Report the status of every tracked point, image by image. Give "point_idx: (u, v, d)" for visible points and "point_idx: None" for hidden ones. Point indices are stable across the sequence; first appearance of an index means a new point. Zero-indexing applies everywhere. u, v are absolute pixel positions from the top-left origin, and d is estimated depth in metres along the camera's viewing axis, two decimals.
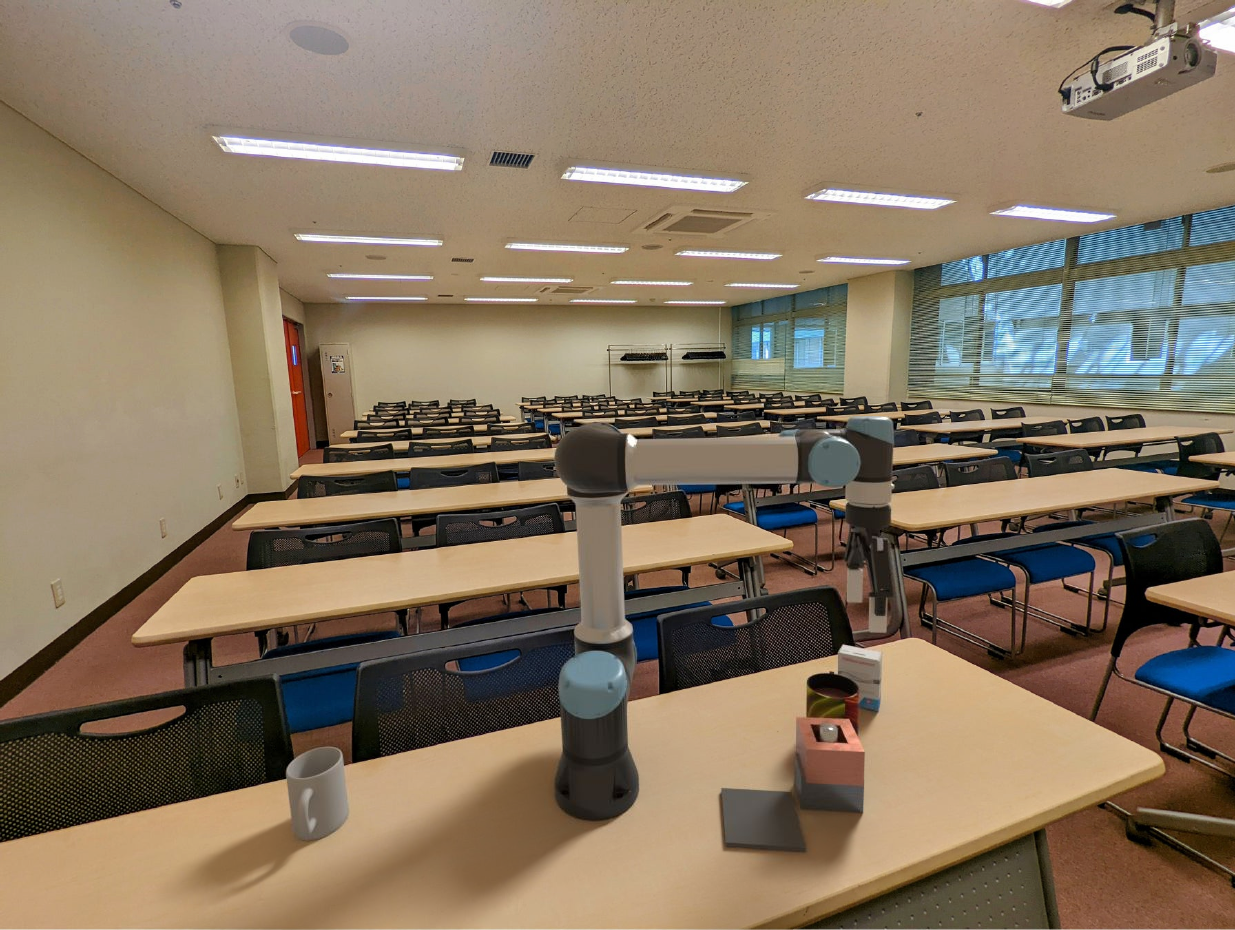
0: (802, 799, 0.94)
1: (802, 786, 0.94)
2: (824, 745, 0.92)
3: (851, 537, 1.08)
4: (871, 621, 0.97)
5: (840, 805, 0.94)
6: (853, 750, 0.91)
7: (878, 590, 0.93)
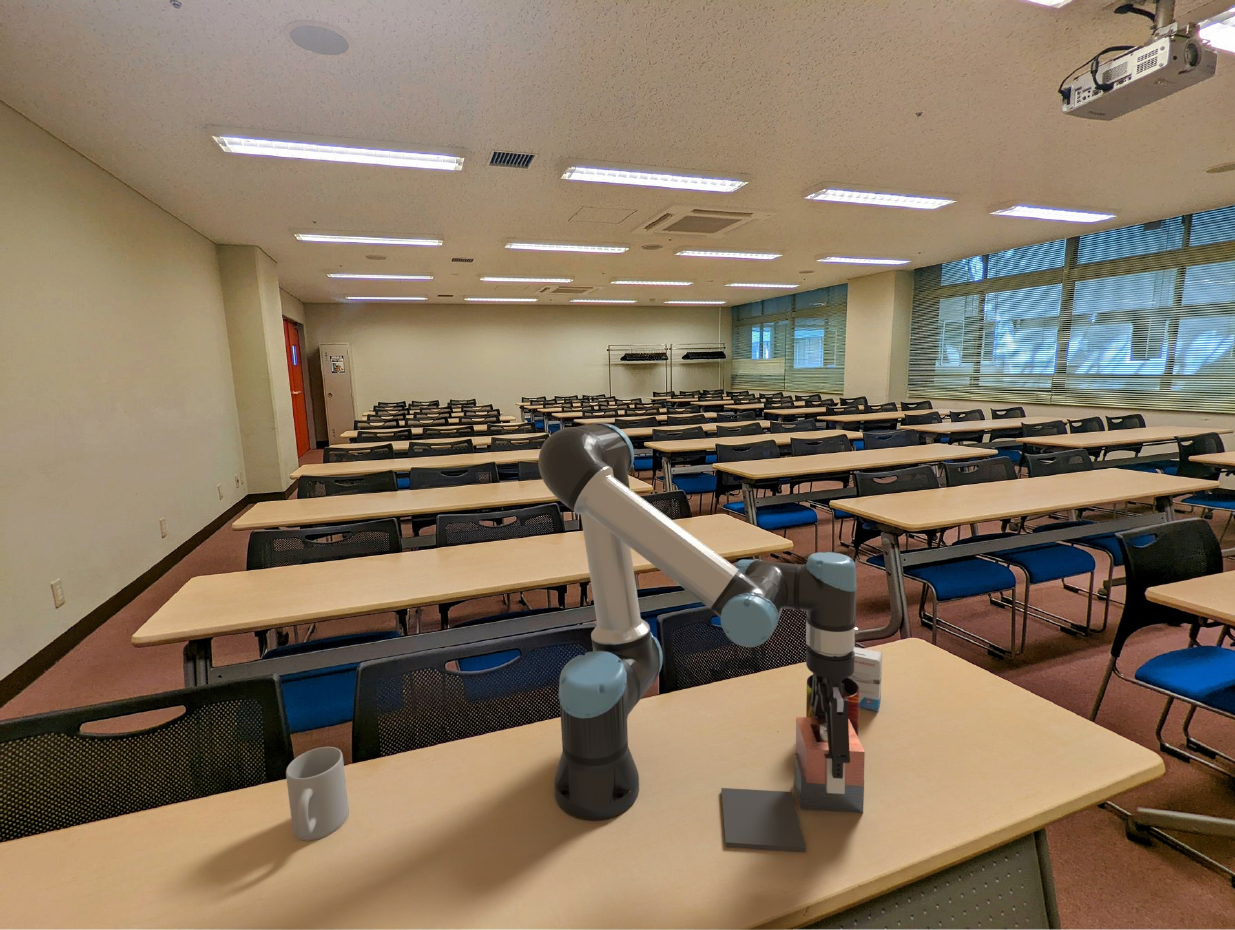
0: (802, 799, 0.94)
1: (802, 786, 0.94)
2: (824, 745, 0.92)
3: None
4: (829, 782, 0.91)
5: (840, 805, 0.94)
6: (853, 750, 0.91)
7: (834, 756, 0.87)
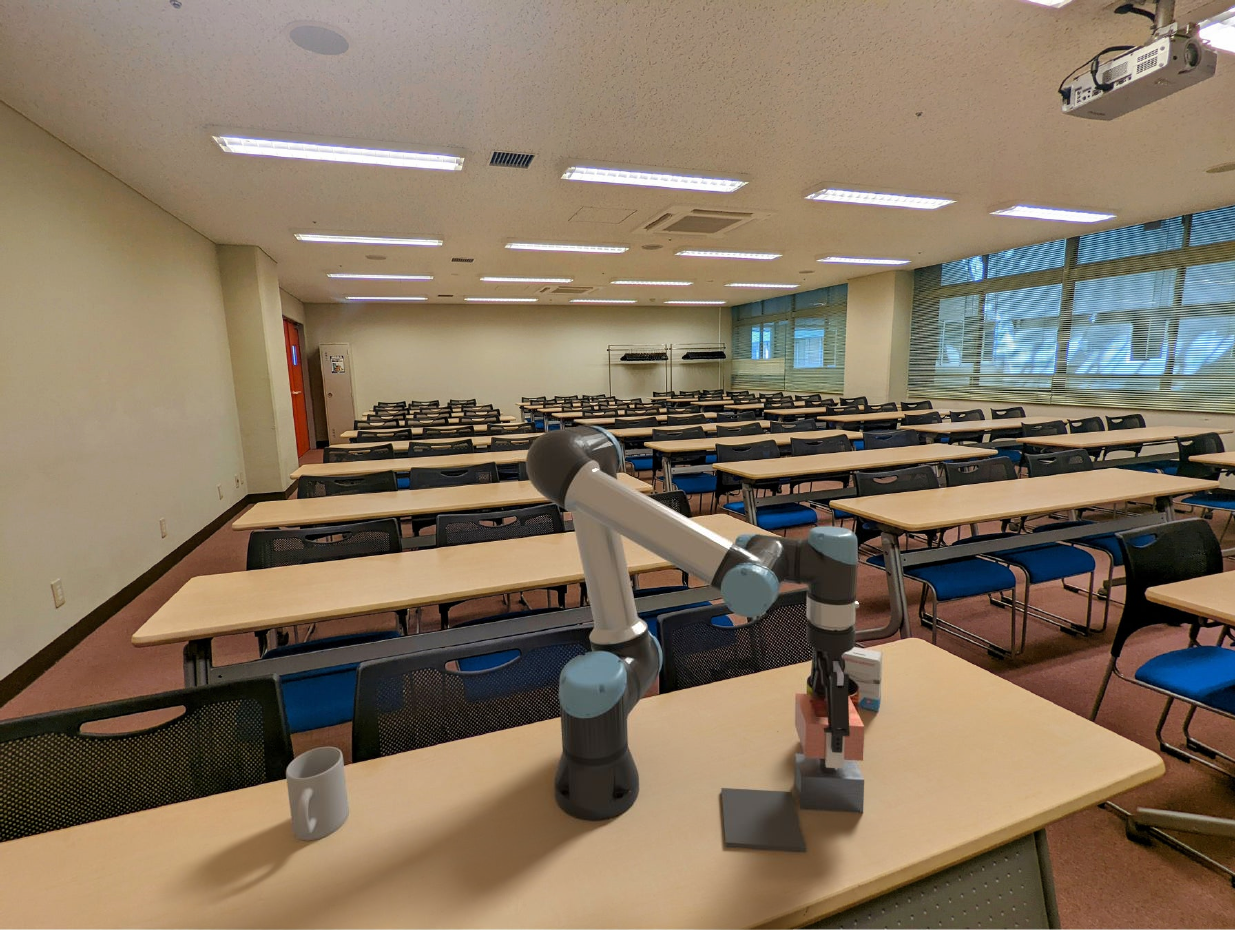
0: (802, 799, 0.94)
1: (802, 786, 0.94)
2: (823, 720, 0.92)
3: None
4: (828, 756, 0.91)
5: (840, 805, 0.94)
6: (853, 725, 0.90)
7: (834, 729, 0.87)
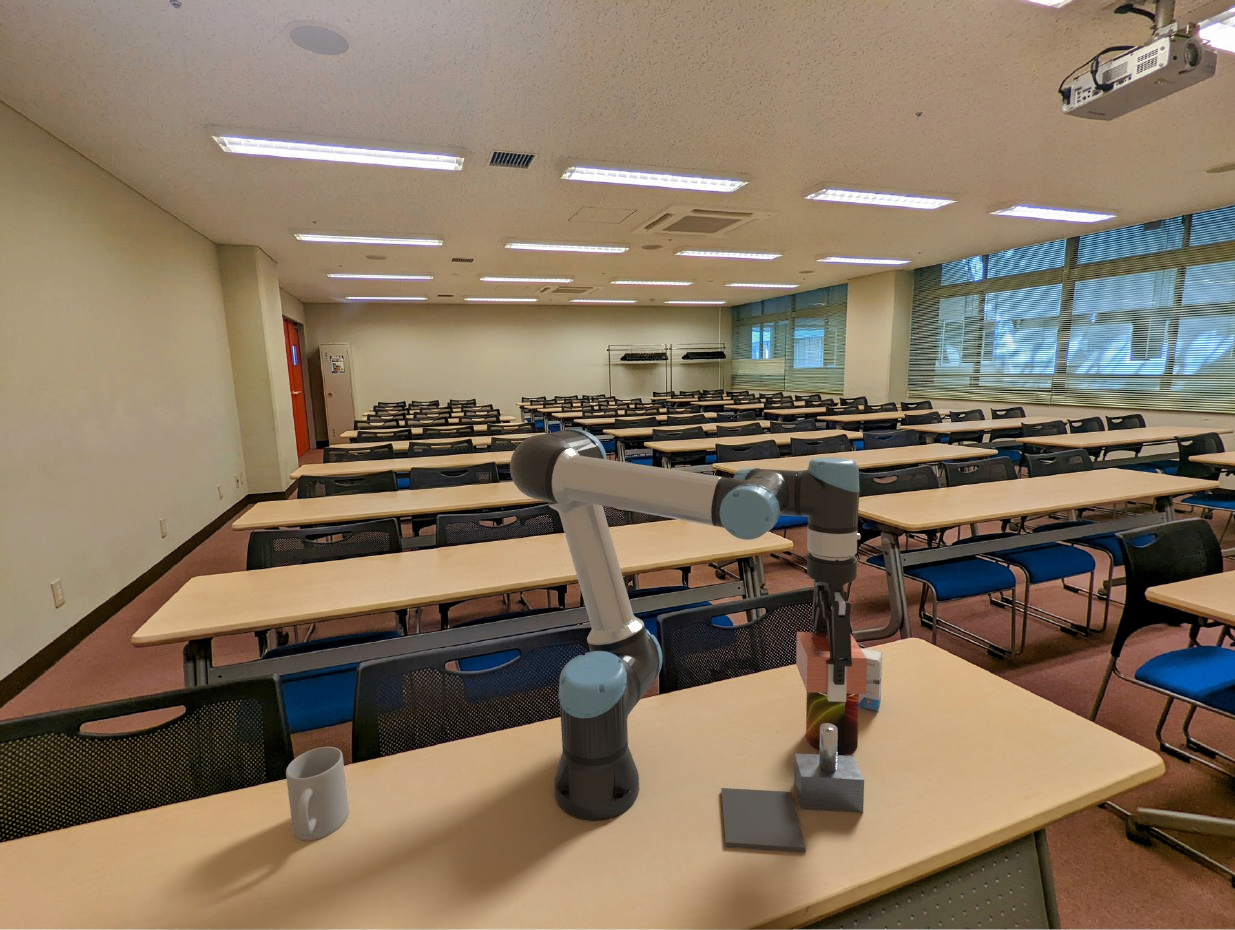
0: (802, 799, 0.94)
1: (802, 786, 0.94)
2: (825, 653, 0.90)
3: (816, 593, 0.98)
4: (830, 689, 0.89)
5: (840, 805, 0.94)
6: (855, 657, 0.89)
7: (836, 659, 0.85)
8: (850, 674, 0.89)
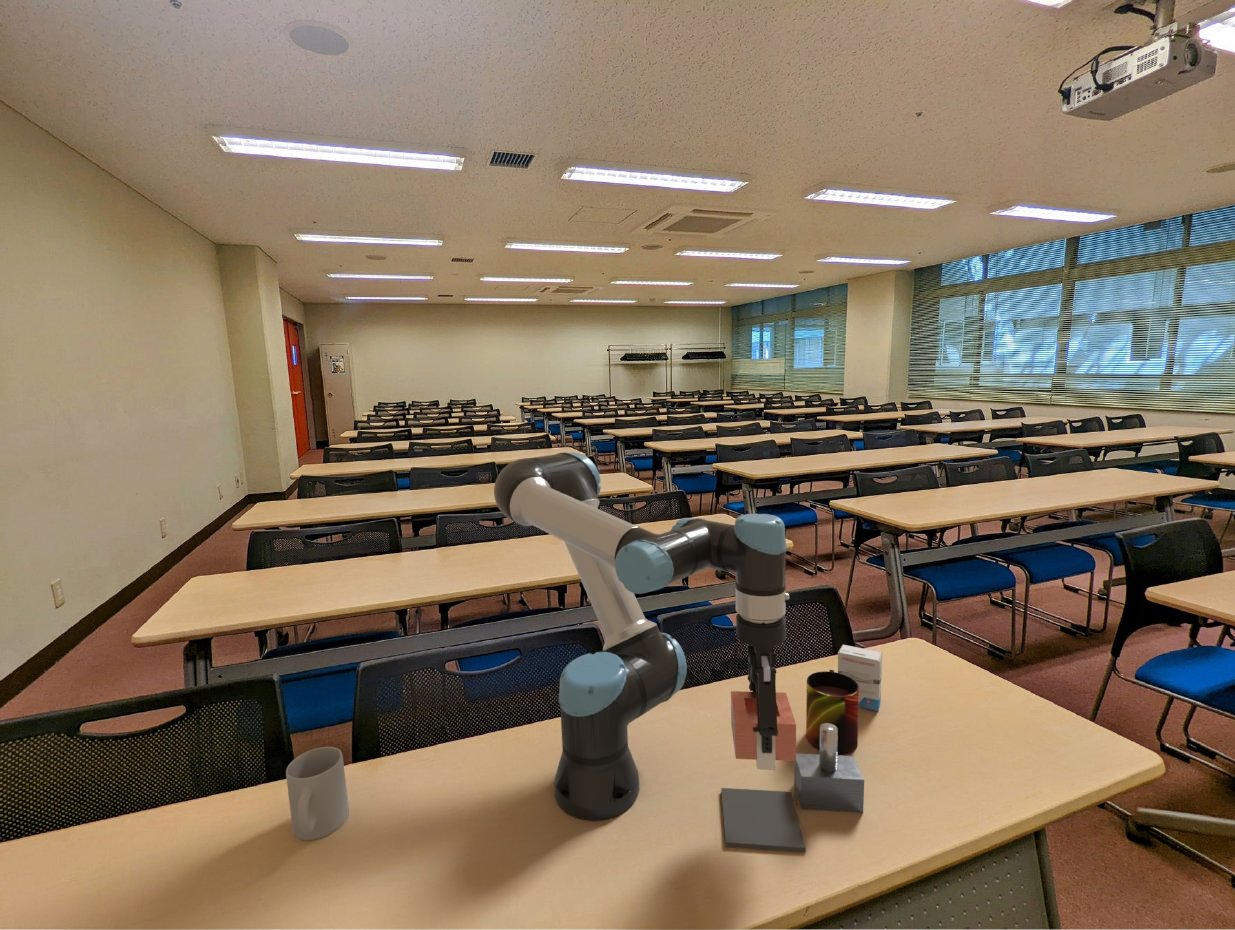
0: (802, 799, 0.94)
1: (802, 786, 0.94)
2: (754, 718, 0.87)
3: None
4: (759, 757, 0.85)
5: (840, 805, 0.94)
6: (784, 723, 0.85)
7: (761, 728, 0.82)
8: (779, 741, 0.85)
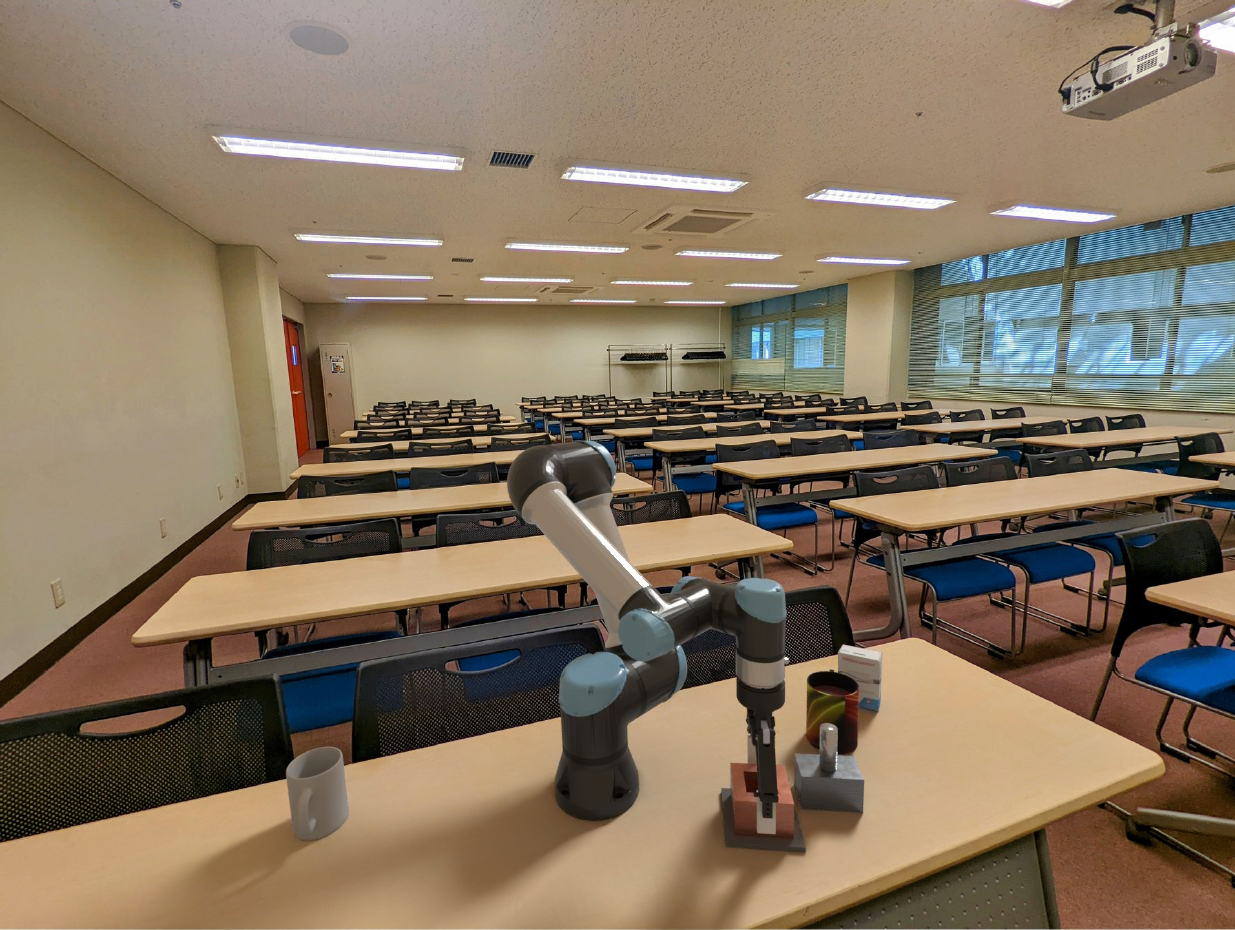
0: (802, 799, 0.94)
1: (802, 786, 0.94)
2: (753, 796, 0.89)
3: None
4: (759, 821, 0.85)
5: (840, 805, 0.94)
6: (782, 802, 0.87)
7: (761, 794, 0.81)
8: (777, 819, 0.87)
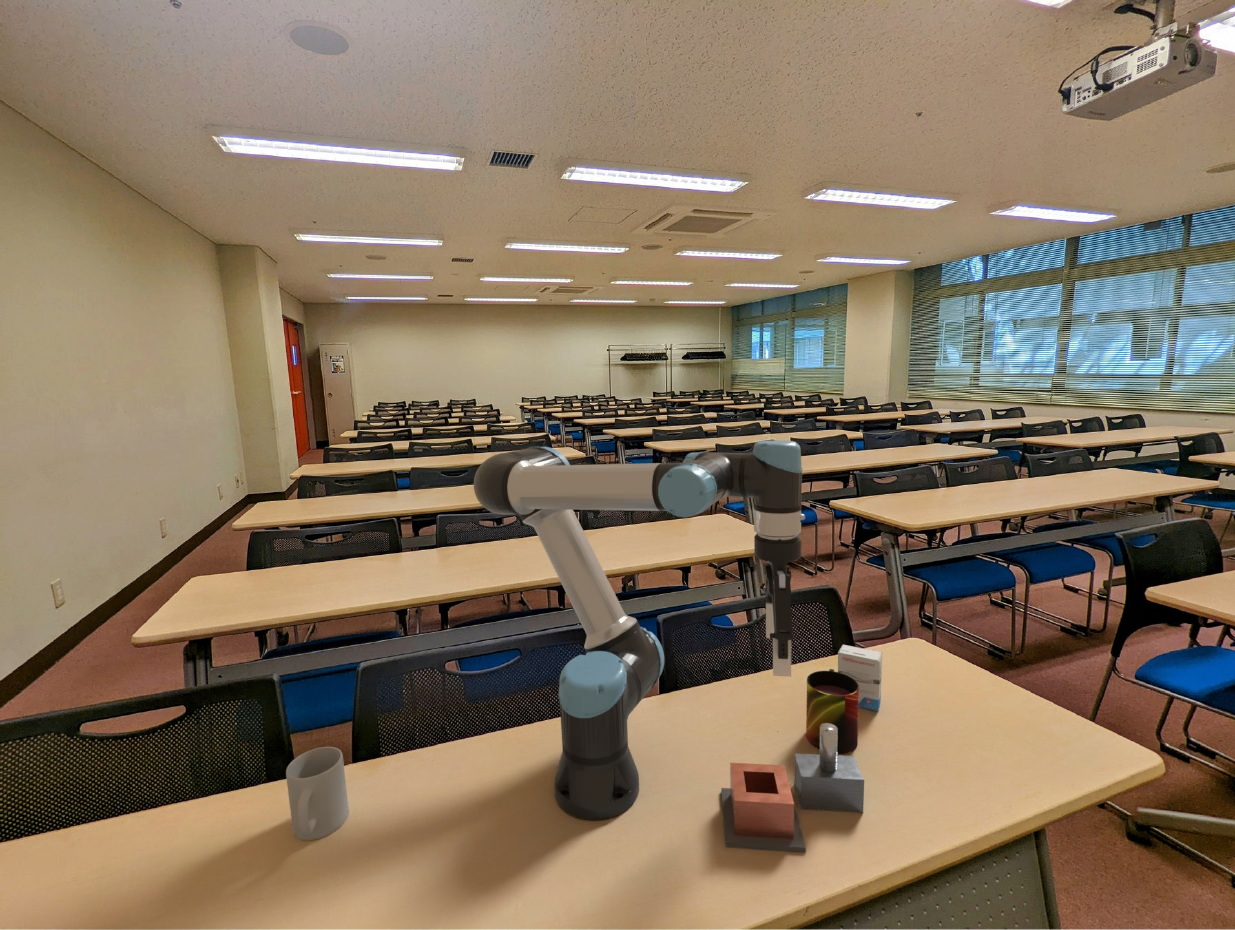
0: (802, 799, 0.94)
1: (802, 786, 0.94)
2: (753, 796, 0.89)
3: None
4: (775, 664, 0.89)
5: (840, 805, 0.94)
6: (782, 802, 0.87)
7: (777, 632, 0.86)
8: (777, 819, 0.87)
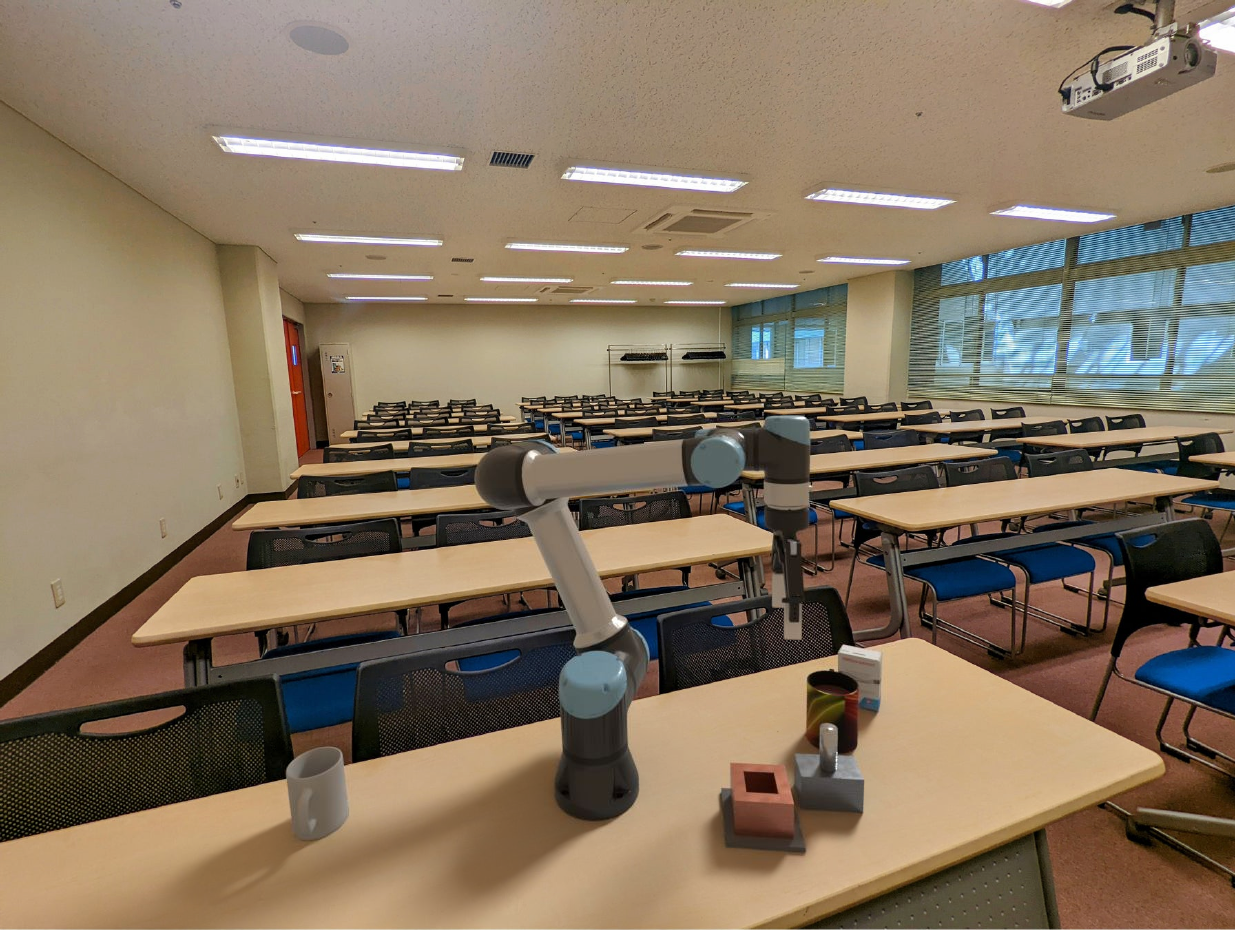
0: (802, 799, 0.94)
1: (802, 786, 0.94)
2: (753, 796, 0.89)
3: None
4: (786, 628, 0.94)
5: (840, 805, 0.94)
6: (782, 802, 0.87)
7: (790, 596, 0.90)
8: (777, 819, 0.87)
